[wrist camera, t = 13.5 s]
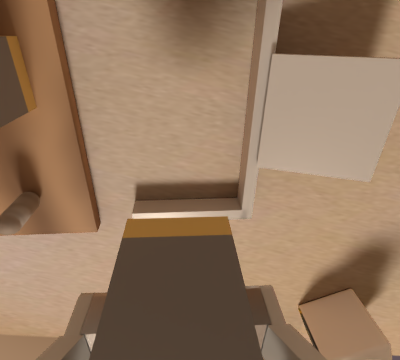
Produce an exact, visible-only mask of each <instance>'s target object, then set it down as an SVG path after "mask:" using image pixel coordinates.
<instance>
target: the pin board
mask: <svg viewBox="0 0 400 360" xmlns="http://www.w3.org/2000/svg"><path fill="white" fill-rule="evenodd" d="M0 36H17V39H18V42H19V46H20V49H21V53H22V57H23V60H24V64H25V67H26V71H27V74H28V78H29V82H30V85H31V89H32V92H33V96H34V99H35V103H36V107H37V108H35V109H34V110H32V111H30V112H28V113H26V114H24V115H23V116H21V117H19V118H17V119H15V120H13V121H12V122H10V123H8V124H6V125H4V126H2V127H1V128H0V236H3V235H29V234H56V233H82V232H97V231H98V229H99V226H100V219H99V214H98V209H97V204H96V199H95V195H94V190H93V185H92V180H91V175H90V170H89V165H88V161H87V156H86V151H85V146H84V141H83V136H82V131H81V127H80V122H79V117H78V112H77V107H76V102H75V97H74V93H73V88H72V83H71V78H70V73H69V68H68V63H67V59H66V54H65V49H64V44H63V39H62V34H61V29H60V25H59V20H58V15H57V10H56V5H55V0H0Z"/></svg>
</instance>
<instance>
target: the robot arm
mask: <svg viewBox="0 0 400 360" xmlns="http://www.w3.org/2000/svg"><path fill="white" fill-rule="evenodd" d="M245 288H246V292H247V297H248V301H249V305H250V309H251V313H252V317H253V321H254V325H255V329H256V333H257V337H258V341H259V345H260V349H261V353H262V356H263V358H264V359H265V360H327V359H326V358H325V357H324V356H323V355H322V354H321V353H320V352H319V351H318V350H317V349H316V348H314V347H313V346H312V345H311V344H310V343H309V342H308V341H307V340H306V339H305V338H304V337H303V336H302V335H301V334H300V333H299V332H298V331H297V330H296V329H295V328H294V327H292V326H291V325H290V324H286V322H285V319H284V316H283V314H282V311H281V308H280V305H279V303H278V300H277V297H276V294H275V292H274V289H273V287H272V286H271V285H265V286H245ZM106 296H107V293H81V295H80V296H79V297H78V300H77V302H76V305H75V308H74V310H73V313H72V316H71V318H70V321H69V323H68V326H67V329H66V331H65V334H64V336H59V337H58V338H57V340H55V342H53V343H52V344H51V345H50V346H49V348H47V349H46V350H45V351H44V352H43V353H42V354H41V355H40V356H39V357H38V358H37V359H36V360H89V358H90V354H91V351H92V347H93V343H94V340H95V336H96V332H97V329H98V325H99V321H100V318H101V314H102V310H103V307H104V303H105V299H106Z"/></svg>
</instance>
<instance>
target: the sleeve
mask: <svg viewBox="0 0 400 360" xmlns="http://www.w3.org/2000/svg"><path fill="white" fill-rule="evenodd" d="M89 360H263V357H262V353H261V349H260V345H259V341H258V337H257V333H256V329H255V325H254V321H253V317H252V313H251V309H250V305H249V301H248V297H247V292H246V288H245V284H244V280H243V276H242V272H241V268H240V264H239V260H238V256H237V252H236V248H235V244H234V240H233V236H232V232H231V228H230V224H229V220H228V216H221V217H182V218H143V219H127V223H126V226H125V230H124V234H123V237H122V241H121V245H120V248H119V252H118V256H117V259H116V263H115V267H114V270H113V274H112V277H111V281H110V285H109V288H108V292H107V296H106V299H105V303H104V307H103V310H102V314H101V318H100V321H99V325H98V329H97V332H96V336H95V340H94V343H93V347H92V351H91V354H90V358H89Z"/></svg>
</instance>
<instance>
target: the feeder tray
mask: <svg viewBox="0 0 400 360" xmlns="http://www.w3.org/2000/svg"><path fill="white" fill-rule="evenodd" d="M282 3H283V0H258V4H257V13H256V23H255V32H254V42H253V51H252V61H251V70H250V80H249V89H248V99H247V108H246V118H245V127H244V137H243V146H242V156H241V165H240V175H239V184H238V194H237V198H211V199H176V200H142V201H135V204H134V208H133V212H132V217H133V219H143V218H182V217H221V216H228V220H232V219H252V212H253V205H254V198H255V191H256V184H257V177H258V170H259V168H266V169H274V170H281V171H289V172H296V173H304V174H311V175H319V176H326V177H334V178H341V179H349V180H356V181H364V182H370V181H371V179H372V176H373V173H374V171H375V168H376V165H377V163H378V160H379V158H380V155H381V152H382V150H383V147H384V145H385V142H386V139H387V137H388V134H389V132H390V129H391V126H392V124H393V121H394V119H395V116H396V113H397V111H398V108H399V105H400V58H385V57H359V56H333V55H306V54H280V53H275V52H276V45H277V38H278V31H279V24H280V17H281V10H282Z"/></svg>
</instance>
